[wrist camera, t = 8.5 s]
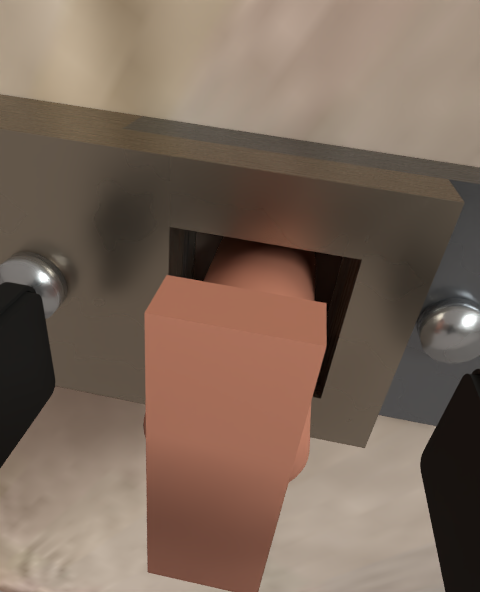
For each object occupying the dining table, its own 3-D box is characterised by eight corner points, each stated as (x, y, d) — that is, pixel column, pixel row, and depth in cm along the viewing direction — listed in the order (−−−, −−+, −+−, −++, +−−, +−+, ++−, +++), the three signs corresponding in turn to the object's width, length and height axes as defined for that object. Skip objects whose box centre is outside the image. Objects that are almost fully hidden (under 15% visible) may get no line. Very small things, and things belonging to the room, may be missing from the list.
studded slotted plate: (717, 203, 11) (856, 275, 8) (559, 418, 16) (612, 514, 13) (-94, 80, 13) (-218, 103, 10) (-31, 306, 17) (-105, 368, 14)
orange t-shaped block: (340, 165, 12) (357, 352, 6) (295, 357, 16) (274, 601, 10) (225, 147, 13) (115, 307, 6) (208, 340, 16) (129, 568, 10)
